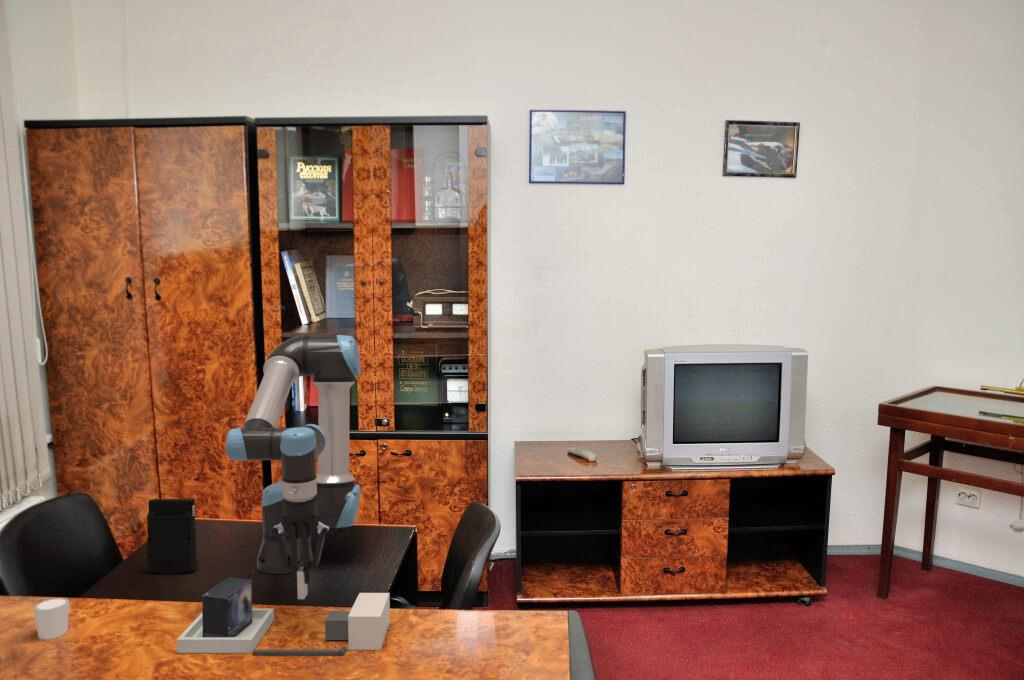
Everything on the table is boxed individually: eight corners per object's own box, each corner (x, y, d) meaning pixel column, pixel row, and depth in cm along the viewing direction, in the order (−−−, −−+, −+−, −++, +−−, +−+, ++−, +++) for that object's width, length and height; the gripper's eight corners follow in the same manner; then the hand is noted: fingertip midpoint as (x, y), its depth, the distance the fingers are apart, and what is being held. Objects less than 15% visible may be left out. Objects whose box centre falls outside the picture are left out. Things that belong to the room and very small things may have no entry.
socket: (359, 623, 170) (358, 592, 170) (389, 624, 170) (389, 592, 170) (347, 649, 158) (347, 616, 158) (380, 649, 158) (380, 616, 158)
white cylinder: (33, 643, 161) (31, 613, 160) (36, 630, 167) (35, 600, 166) (69, 636, 164) (68, 606, 163) (71, 624, 170) (70, 595, 169)
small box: (228, 644, 159) (226, 597, 158) (201, 641, 160) (199, 595, 159) (254, 622, 169) (253, 578, 168) (228, 619, 170) (227, 576, 169)
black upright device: (198, 568, 203) (196, 498, 201) (191, 575, 198) (189, 503, 196) (154, 569, 202) (151, 498, 201) (146, 575, 198) (143, 503, 196)
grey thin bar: (256, 649, 158) (256, 646, 158) (346, 649, 158) (346, 646, 158) (252, 655, 156) (252, 651, 156) (343, 655, 156) (343, 652, 156)
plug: (330, 630, 167) (329, 611, 166) (373, 630, 167) (372, 611, 166) (325, 639, 162) (324, 620, 162) (369, 640, 162) (369, 620, 162)
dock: (206, 620, 172) (205, 608, 172) (274, 620, 172) (273, 608, 172) (177, 652, 157) (176, 639, 157) (251, 653, 157) (251, 639, 157)
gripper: (265, 502, 161) (268, 604, 164) (324, 502, 161) (327, 604, 164) (276, 491, 168) (279, 588, 171) (332, 491, 168) (335, 589, 171)
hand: (302, 596), depth 167 cm, fingers closed
